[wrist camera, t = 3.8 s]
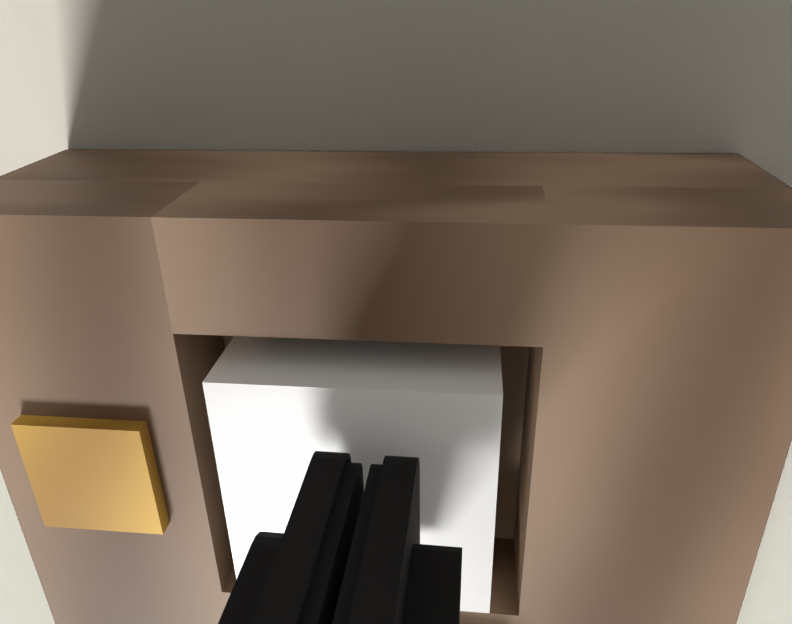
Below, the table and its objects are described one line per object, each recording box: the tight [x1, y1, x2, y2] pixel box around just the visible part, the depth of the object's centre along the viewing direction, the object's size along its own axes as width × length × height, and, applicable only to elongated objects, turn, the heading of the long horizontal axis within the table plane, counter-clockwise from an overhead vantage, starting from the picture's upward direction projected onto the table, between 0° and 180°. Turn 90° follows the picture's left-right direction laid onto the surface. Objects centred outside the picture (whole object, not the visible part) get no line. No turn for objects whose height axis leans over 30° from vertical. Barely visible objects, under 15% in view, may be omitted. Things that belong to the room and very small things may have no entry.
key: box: [202, 336, 503, 613], centre depth 12 cm, size 5×5×2 cm
